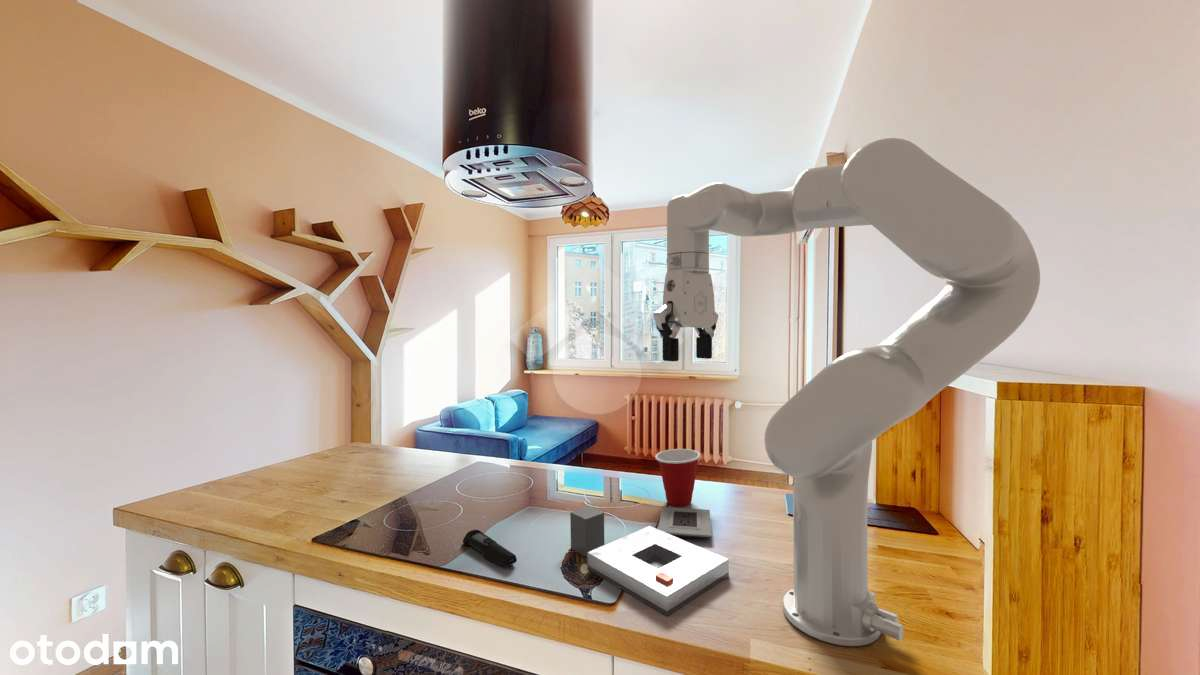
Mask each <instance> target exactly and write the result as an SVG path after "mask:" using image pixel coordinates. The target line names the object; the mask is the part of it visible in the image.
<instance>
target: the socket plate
mask: <svg viewBox="0 0 1200 675" xmlns="http://www.w3.org/2000/svg"><path fill="white" fill-rule="evenodd" d="M729 562H730V560H729V558H728V557H725V556H723V555H721V554H718V553H715V552H713V551H710V550H708V549H706V548H704V547H701V546H698V545H696V544H694V543H692V542H689V541H687V540H684V539H682V538H681V537H676V536H672V535H670V534H668V533H665V532H663V531H661V530H658V528H656V527H653V526H651V525H648V526H646V527H644V528H641V529H638V530H637V531H634V532H632V533H630V534H627V535H625V536H622V537H619V538H617V539H615V540H613V541H611V542H609V543H606V544H604V546H601V547H599V548H597V549H594V550H592V551H590V552H587V570H588V571H590V572H591V573H593V574H594V575H596V576H598V577H599V578H601V579H603V580H605V581H606V580H607V581H606V582H608V581H609V582H608V583H609V584H612V585H613V584H614V585H613V586H615V585H616V586H618V587H620V588H621V589H622V591H623V592H624V593H626V594H628V595H630V596H631V597H633V598H634V599H637V600H638V601H640V602H642V603H643V604H645V605H647V606H648V607H650V608H652V609H653V610H655V611H657V612H659V613H660V614H661V615H663V616H665V617H670V615H672V614H673V613H675V612H677V611H678V610H679V609H681V608H682V607H684V606H686V605H688V604H689V603H690V602H692V601H694V600H695V599H697V598H698V597H700V596H701V595H703V594H704V593H706V592H708V591H709V590H711V589H712V588H713V587H715V586H716V585H718V584H720V583H721V582H722V581H724V580H726V579H727V578H729V575H730V574H729V572H730V568H729V566H730V564H729ZM616 586H615V587H616ZM618 587H617V588H618ZM620 588H619V589H620ZM621 589H620V590H621Z"/></svg>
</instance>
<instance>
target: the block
mask: <svg viewBox="0 0 1200 675" xmlns="http://www.w3.org/2000/svg"><path fill="white" fill-rule="evenodd" d="M569 513H570V520H569V521H570V549H571V550H573V551H574V552H576V553H578V554H580V555H582V556H584V557H586V558H588V556H587V552H590V551H592V550H594V549H597V548H599V547H601V546H604V545H605V512H603V511H601V510H599V509H596V508H594V507H592V506H590V505H588V506H584V507H582V508H579V509H576V510H573V511H570V512H569Z"/></svg>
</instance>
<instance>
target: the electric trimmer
mask: <svg viewBox="0 0 1200 675" xmlns="http://www.w3.org/2000/svg"><path fill="white" fill-rule="evenodd" d="M462 544H463V546H464V547H465V546H470V547H472V548H474V549H475V550H477V551H478V552H480V553H482V555H483V558H484V559H486V560H488V561H491V562H492V563H495V564H498V565H500V566H503V567H508V566H511V565H514V564H515V563H517V560H518V559H517V555H516V554H515V553H513V552H511V551H510V550H509V549H507V548H505V547H504V546H502V545H500V544H499V543H498V542H497V541H495V540H494V539H492V538H491V537H489V536H488V535H487V534H485V533H483V532H482V531H481V530H480V529H472V530H470V531H468V532H467V533H466V534H465V536H464V537H463V539H462Z"/></svg>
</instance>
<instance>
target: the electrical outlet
mask: <svg viewBox="0 0 1200 675" xmlns="http://www.w3.org/2000/svg"><path fill="white" fill-rule="evenodd" d="M711 523H712V522H711V510H710V509H703V508H702V509H701V508H687V507H672V506H671V507H668V506H661V511H660V516H659V522H658V527H657V529H658V530H661V531H663V532H665V533H668V534H670V535H672V536H675V537H677V538H689V539H691V538H692V539H705V540H706V539H707V540H709V539H712V538H713V532H712V524H711Z"/></svg>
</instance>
